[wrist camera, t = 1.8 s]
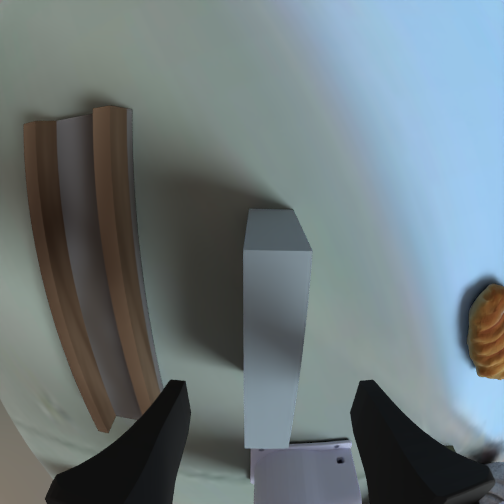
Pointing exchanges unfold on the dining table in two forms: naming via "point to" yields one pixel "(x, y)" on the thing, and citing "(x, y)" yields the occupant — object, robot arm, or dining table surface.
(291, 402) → the door panel
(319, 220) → the dining table surface
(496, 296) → the pastry
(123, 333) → the floor track
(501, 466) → the decorative orb
